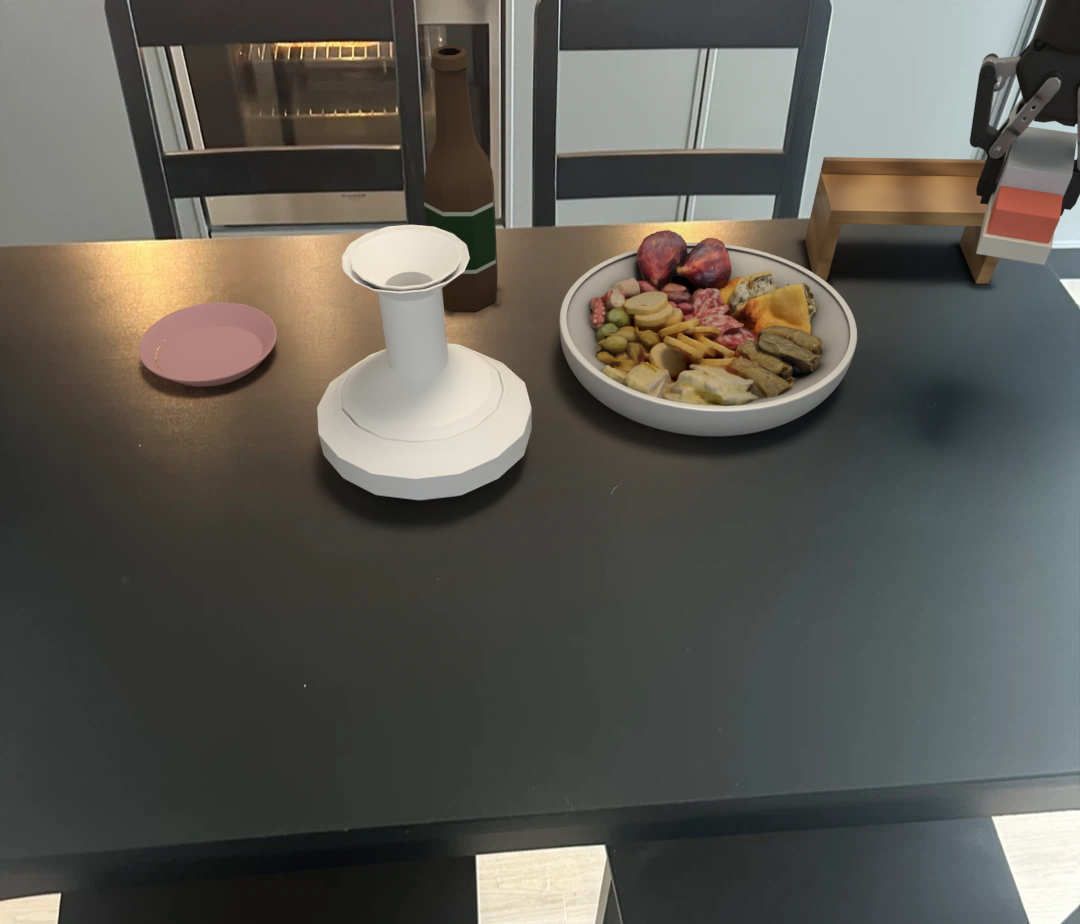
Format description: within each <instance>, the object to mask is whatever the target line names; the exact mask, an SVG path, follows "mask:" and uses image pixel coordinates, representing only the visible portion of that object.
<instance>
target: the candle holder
mask: <svg viewBox="0 0 1080 924" xmlns="http://www.w3.org/2000/svg"><path fill="white" fill-rule="evenodd" d="M469 259H470V257H469V253H468V248H467V245H466V244H465V243H464V242H463V241H461V240H460V239H459V238H458V237H456V236H455V235H454V234H452V233H450V232H447V231H444V230H442V229H439V228H436V227H432V226H426V225H421V224H420V225H418V224H401V225H391V226H384V227H382V228H379V229H376V230H373V231H369V232H366V233H364V234H363V235H361V236H359V237H358V238H356V239H355V240H354V241H352V242H350V243H349V244H348V245H347V247H346V249H345V250H344V252H343V254H342V255H341V265H342V271H343V273H345V274H346V275H347V276H348V277H349V278H350V279H351V280H352V281H353V282H354V283H355V284H358V285H359V286H362V287H364V288H366V289H368V290H370V291H372V292H374V293H376V294H377V297H378V304H379V310H380V316H381V323H382V330H383V336H384V343H385V348H384V349H381V350H379V351H377V352H374V353H372V354H369V355H368V356H366V357H365V358H363V359H361V360H360V361H358V362H356V363H355V364H353V366H351V367H349V368H348V369H347V370H345V371H344V372H343V373H341V374H340V375H338V377H336V378H333V380H332V381H330V382H329V384H328V386H327V388H326V390H325V392H324V394H323V395H322V397H321V399H320V401H319V403H318V405H317V407H316V411H317V431H318V432H317V433H318V438H319V442H320V447H321V450H322V454H323V456H324V457H325V458H326V460H327V461H328V462H329V463H330V465H331V466H332V467H333V468H334V469H335V470H336V472H337V473H338V474H339V475H340V476H341V477H342V479H345V480H346V481H348V482H349V483H352V484H353V485H355V486H358V487H359V488H362V489H363V490H365V491H367V492H369V493H371V494H373V495H375V496H382V497H390V498H398V499H406V500H412V501H413V500H415V501H427V500H435V499H444V498H453V497H459V496H463V495H465V494H468V493H469V492H472V491H474V490H476V489H478V488H480V487H483V486H485V485H488V484H489V483H492V482H494V481H496V480H498V479H500V478H501V477H502V476H503V475H505V473H506V472H507V471H508V470H510V469H511V468H512V467H513V466H514V465H515V464H516V463H518V461H520V460H521V459H522V458H523V457H524V456H525V454H526V449H527V446H528V442H529V439H530V436H531V433H532V431H533V430H532V429H533V428H532V427H533V423H532V422H533V421H532V416H533V415H532V404H531V400H530V398H529V393H528V389H527V386H526V382H525V381H523V379H522V378H521V377H520V376H518V375H517V374H516V373H515V372H513V371H512V370H511V369H510V368H509V367H508V366H507V365H506V364H505V363H504V362H502V361H499V360H497V359H494V358H492V357H490V356H487V355H485V354H483V353H480V352H478V351H475V350H473V349H471V348H469V347H466V346H463V345H461V344H457V343H448V339H447V328H446V317H445V316H446V315H445V306H444V305H443V294H442V288H443V287H444V286H445V285H447V284H448V283H449V282H451V281H452V280H453V279H455V278H456V277H457V276H459V275H460V274H461V273H463V272H464V271H465V268H466V266H467V264H468V261H469Z"/></svg>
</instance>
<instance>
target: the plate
mask: <svg viewBox="0 0 1080 924" xmlns="http://www.w3.org/2000/svg"><path fill="white" fill-rule="evenodd" d="M277 339H278V330H277V327H276V325H275V323H274V321H273V319H272V318H271V317H270V316H269V315H268V314H266V312H264V311H262V310H260V309H258V308H257V307H253V306H250V305H247V304H243V303H238V302H237V303H236V302H226V301H224V302H223V301H221V302H220V301H217V302H206V303H199V304H194V305H191V306H187V307H183V308H180V309H178V310H176V311H173V312H171V313H169V314H167V315H165V316H163V317H162V318H160V319H158V320H157V321H156V322H154V323H153V324H152V325H151V326H150V327H149V328H148V329H147V330H146V331H145V332H144V334H143V336H142V337H141V338H140V342H139V344H138V355H139V359H140V361H141V363H142V364H143V365H144V367H146V369H147V370H149V371H150V372H151V373H153V374H155V375H157V376H158V377H161V378H163V379H165V380H166V379H167V380H169V381H173V382H175V383H177V384H182V385H185V386H189V387H214V386H220V385H226V384H230V383H232V382H235V381H237V380H239V379H241V378H244V377H245V376H247V375H249V374H250V373H252V372H253V371H254V370H255V369H256V368H257V367H259V365H260V364H261V363H262V362H263V361H264V360H265V359H266V358H267V357H268V355H269V354H270V353H271V351H272V350H273V349H274V347H275V345H276V343H277ZM164 340H165V341H164ZM161 344H162V345H161ZM160 345H161V346H160ZM159 346H160V348H159V350H158V352H157V363H158V366H159V367H160V369H161V370H162V371H163V372H164V373H165V374H164V373H163V372H162V371H161V370H160V369H159V368H158V367H157V365H156V363H155V358H154V357H155V353H156V350H157V348H158V347H159ZM166 374H167V375H166Z"/></svg>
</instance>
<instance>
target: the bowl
mask: <svg viewBox="0 0 1080 924" xmlns="http://www.w3.org/2000/svg"><path fill="white" fill-rule="evenodd" d="M559 312H560V313H559V338H560V343H561V348H562V352H563V355H564V358H565V360H566V362H567V364H568V367H569V368H570V370H571V371H572V373H573V375H574V376H575V378H576V379H577V381H578V382H579V383H580V384H581V385H582V387H583V388H584V389H586V391H587V392H589V394H591V395H592V396H593V397H594V398H595V399H596V400H597V401H599V402H600V403H602V404H603V405H604V406H606V407H607V408H608V409H610V410H612V411H613V412H615V413H618V414H619V415H621V416H623V417H625V418H627V419H629V420H631V421H634V422H636V423H639V424H642V425H645V426H647V427H651V428H654V429H657V430H661V431H665V432H669V433H675V434H681V435H688V436H697V437H732V436H741V435H748V434H754V433H759V432H763V431H767V430H770V429H774V428H777V427H780V426H782V425H785V424H787V423H790V422H792V421H794V420H797V419H799V418H801V417H802V416H804V415H806V414H808V413H809V412H811V410H813V409H815V408H816V407H818V406H819V405H820V404H822V403H823V402H824V401H825V400H826V399H827V398H828V397H829V396H831V394H832V393H833V392H834V391H835V390H836V388H837V387H838V386H839V385H840V384H841V382H842V380H843V379H844V377H845V376H846V374H847V372H848V370H849V368H850V365H851V364H852V360H853V358H854V354H855V351H856V347H857V342H858V327H857V324H856V320H855V316H854V315H853V312H852V310H851V308H850V306H849V305H848V304H847V302H846V301H845V299H844V298H843V296H842V295H841V294H840V293H839V292H838V291H837V290H836V289H835V288H834V287H833V286H832V285H830V284H829V283H828V282H827V281H824V280H823V279H821V278H820V277H819V276H817V275H815V274H814V273H812V270H811V271H810V270H809V269H808V268H805V267H803V266H802V265H799V264H797V263H795V262H793V261H791V260H788V259H786V258H783V257H781V256H778V255H775V254H772V253H769V252H765V251H762V250H757V249H754V248H748V247H745V246H740V245H733V244H725V243H724V242H723V241H722V240H720V239H718V238H715V237H707V238H704V239H702V240H700V241H699V242H686V240H685V239H684V238H683V237H682V235H680V234H678V233H677V232H675V231H672V230H670V229H668V230H667V229H665V230H664V229H663V230H659V231H656V232H652V233H651V234H649V235H647V236H645V237H644V238H643V240H642V241H641V243H640V246H639V247H638V248H637V249H632V250H630V251H626V252H623V253H621V254H618V255H615V256H613V257H611V258H608V259H606V260H603V261H602V262H600V263H599V264H597V265H595V266H594V267H592V268H590V269H589V270H587V271H586V272H585V273H583V275H581V276H580V277H579V278H578V279H577V280H576V281H575V282H574V283H573V284H572V285H571V287H570V288H569V289H568V291H567V293H566V294H565V297H564V298H563V301H562V303H561V306H560V310H559Z"/></svg>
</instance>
